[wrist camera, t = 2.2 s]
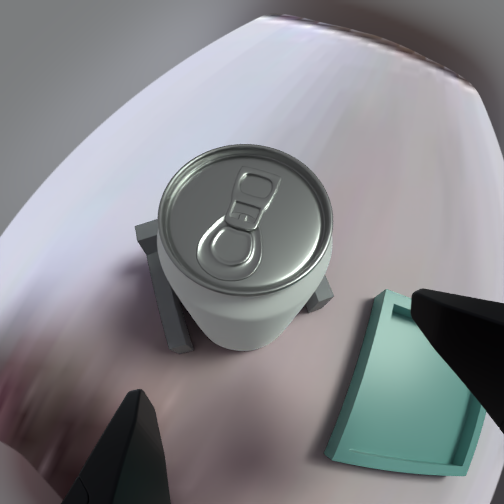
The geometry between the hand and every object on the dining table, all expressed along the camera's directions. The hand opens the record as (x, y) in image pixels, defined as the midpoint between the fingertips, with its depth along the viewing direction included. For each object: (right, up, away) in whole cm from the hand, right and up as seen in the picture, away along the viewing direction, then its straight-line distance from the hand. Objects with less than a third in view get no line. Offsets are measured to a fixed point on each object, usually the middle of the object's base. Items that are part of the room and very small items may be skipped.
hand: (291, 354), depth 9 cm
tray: (+11, -7, +9) cm, 16 cm away
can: (-2, -1, +12) cm, 12 cm away
